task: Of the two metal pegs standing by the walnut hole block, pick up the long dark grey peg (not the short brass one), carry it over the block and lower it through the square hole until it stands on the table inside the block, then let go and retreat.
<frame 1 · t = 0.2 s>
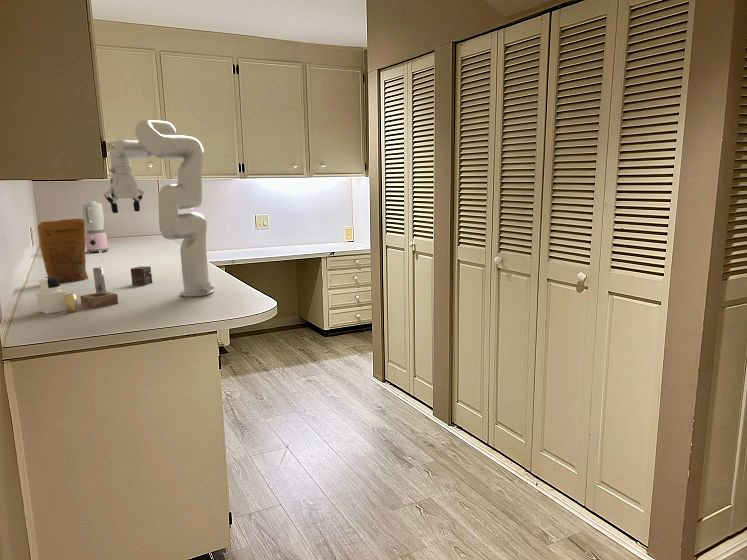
hand: (126, 212, 234), 31 cm above the table, tool pointing down, fingers open, 9 cm apart
long peg: (101, 299, 209), on the table
box: (142, 284, 237), on the table
hole block: (100, 304, 200), on the table
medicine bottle: (53, 311, 192), on the table
short peg: (72, 311, 190), on the table
blender: (97, 252, 347), on the table
pancake mix bag: (69, 281, 248), on the table
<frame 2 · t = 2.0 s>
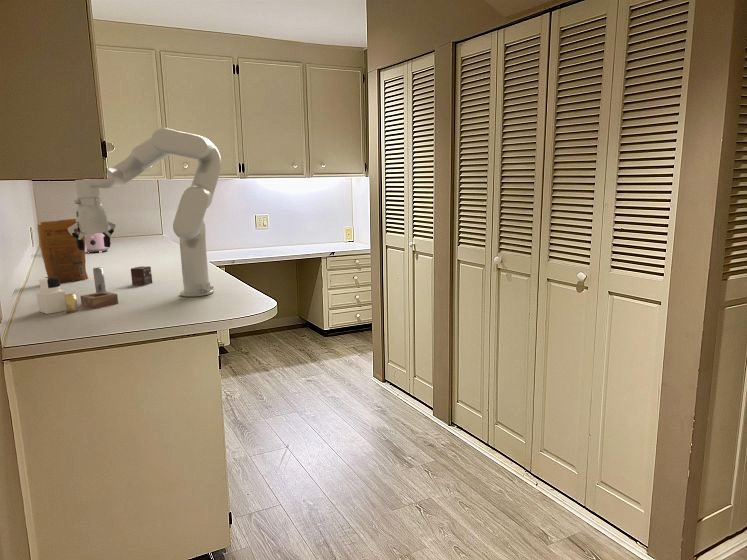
hand: (94, 248, 205), 19 cm above the table, tool pointing down, fingers open, 9 cm apart
nothing on the table moved.
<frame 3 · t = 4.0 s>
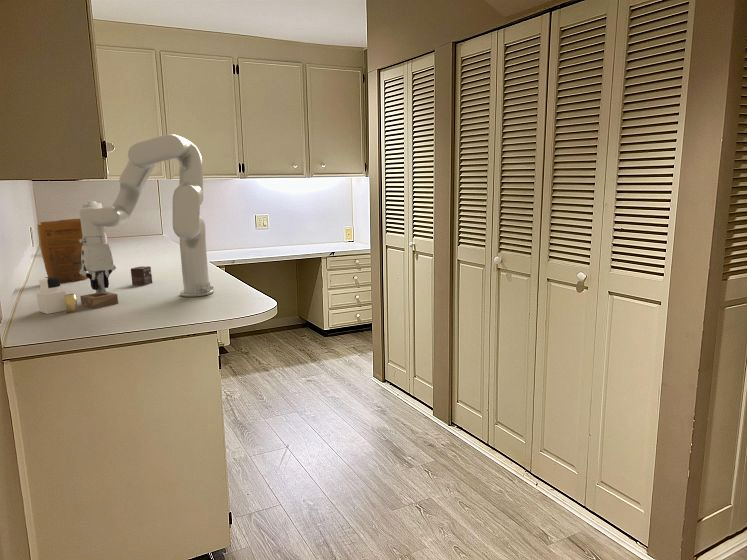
hand: (100, 288, 208), 4 cm above the table, tool pointing down, fingers closed on long peg, 3 cm apart
long peg: (101, 299, 209), on the table, touching gripper
everything else where it was.
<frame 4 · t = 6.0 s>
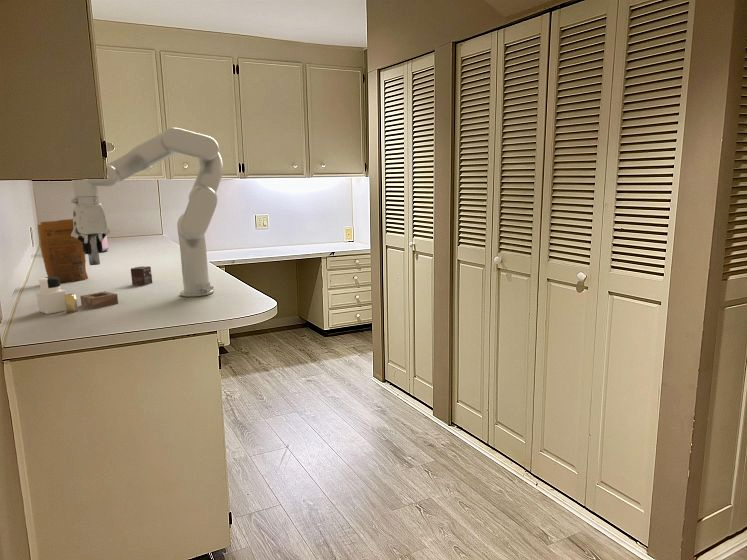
hand: (93, 252, 197), 19 cm above the table, tool pointing down, fingers closed on long peg, 3 cm apart
long peg: (94, 264, 197), point 15 cm above the table, touching gripper
everything else where it was.
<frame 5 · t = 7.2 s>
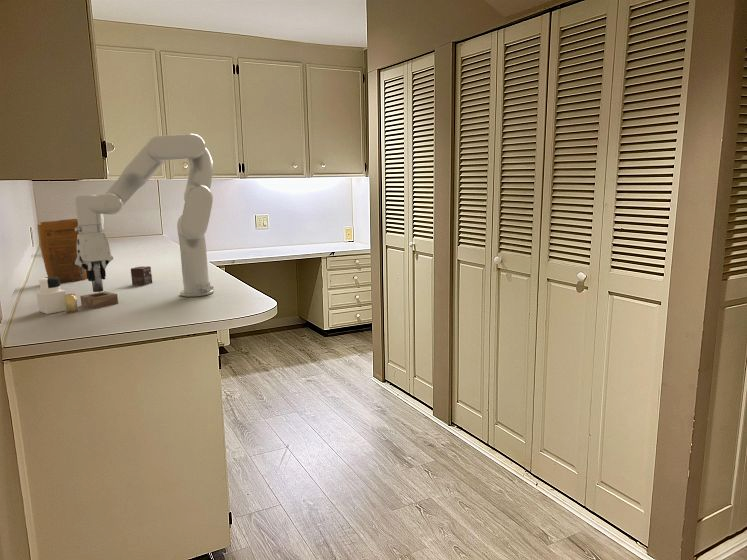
hand: (96, 279, 198), 9 cm above the table, tool pointing down, fingers closed on long peg, 3 cm apart
long peg: (98, 291, 199), point 5 cm above the table, touching gripper
everything else where it was.
when the fingers open (5 cm above the table, at t = 8.3 s): long peg stays where it is, resting in hole block.
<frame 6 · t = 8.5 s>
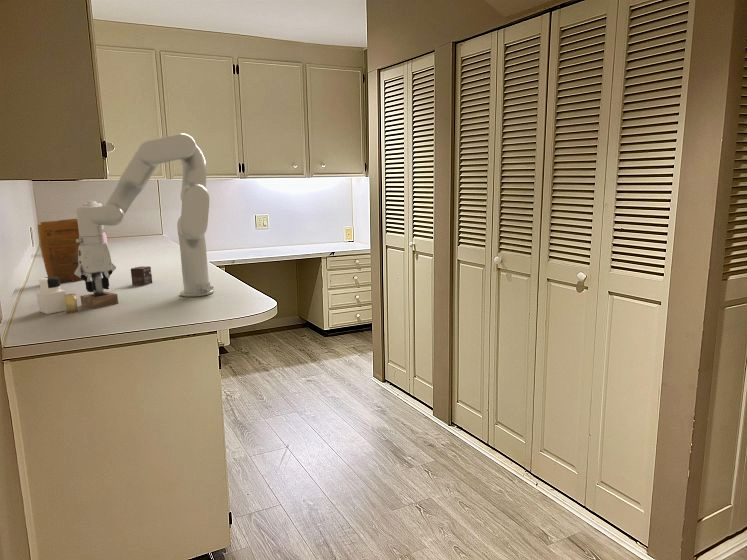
hand: (98, 289, 199), 5 cm above the table, tool pointing down, fingers open, 5 cm apart
long peg: (100, 304, 200), resting in hole block
everything else where it was.
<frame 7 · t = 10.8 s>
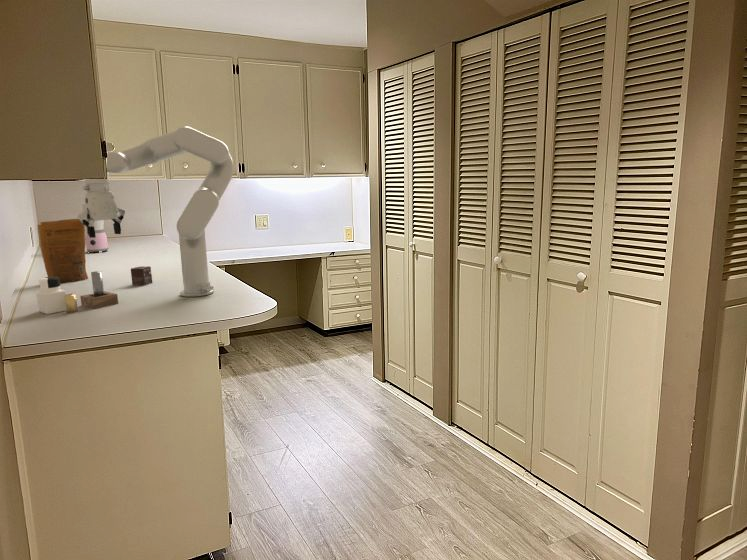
hand: (105, 235, 201), 25 cm above the table, tool pointing down, fingers open, 9 cm apart
nothing on the table moved.
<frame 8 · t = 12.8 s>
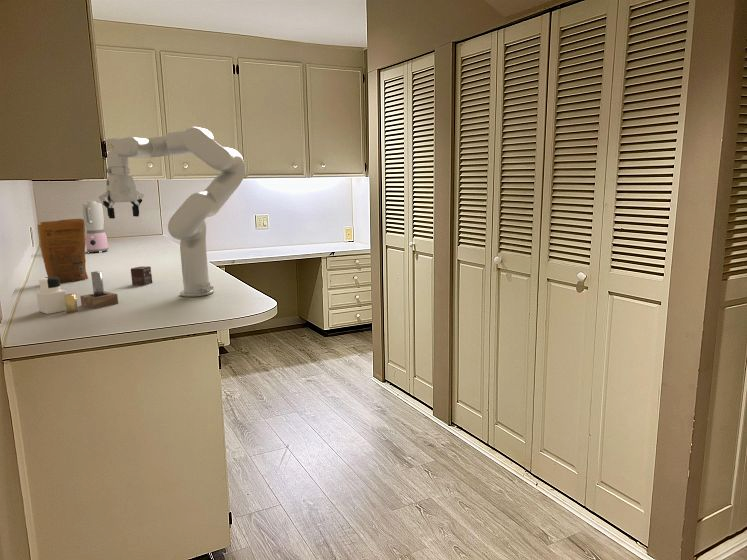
hand: (124, 217, 210), 30 cm above the table, tool pointing down, fingers open, 9 cm apart
nothing on the table moved.
at the end: long peg 0.1 cm off-centre on the hole block, point 0.0 cm above the hole block's base; long peg tilted 0°; short peg moved 0.0 cm from its start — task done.
